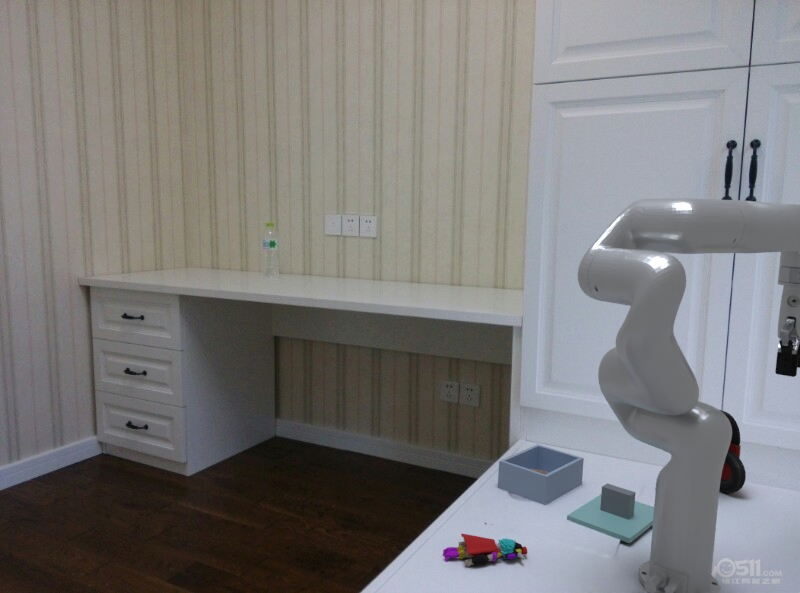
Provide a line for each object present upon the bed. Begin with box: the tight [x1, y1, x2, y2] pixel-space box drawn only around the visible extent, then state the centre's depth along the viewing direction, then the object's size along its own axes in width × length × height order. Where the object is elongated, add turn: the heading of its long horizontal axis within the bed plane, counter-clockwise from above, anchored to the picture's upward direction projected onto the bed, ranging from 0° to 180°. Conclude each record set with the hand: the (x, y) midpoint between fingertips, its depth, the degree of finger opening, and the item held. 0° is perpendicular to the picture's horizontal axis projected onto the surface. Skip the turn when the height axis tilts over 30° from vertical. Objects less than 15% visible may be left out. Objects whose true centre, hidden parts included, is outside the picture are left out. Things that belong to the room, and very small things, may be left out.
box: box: [497, 443, 585, 506], centre depth 146 cm, size 16×12×7 cm
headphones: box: [717, 408, 747, 494], centre depth 145 cm, size 18×10×20 cm, turn 114°
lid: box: [566, 483, 654, 544], centre depth 132 cm, size 17×13×7 cm
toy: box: [442, 533, 528, 568], centre depth 116 cm, size 8×4×15 cm
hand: (792, 371), depth 119 cm, fingers open, 9 cm apart
